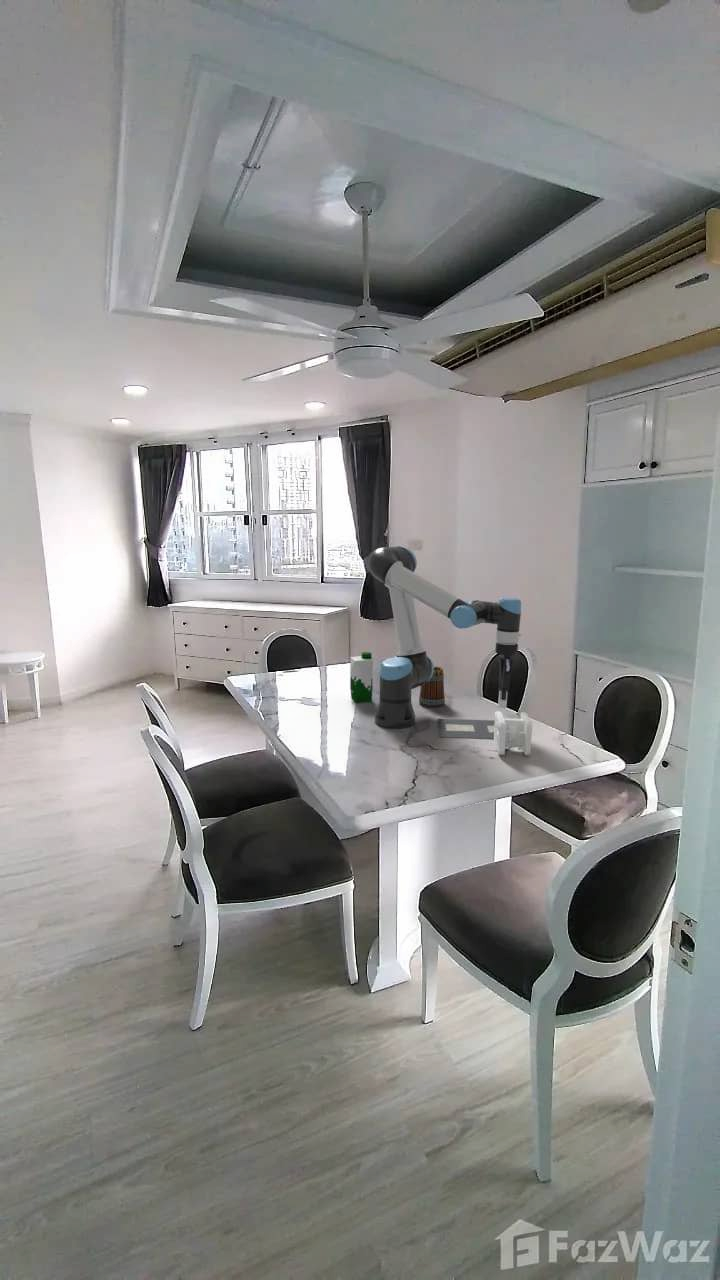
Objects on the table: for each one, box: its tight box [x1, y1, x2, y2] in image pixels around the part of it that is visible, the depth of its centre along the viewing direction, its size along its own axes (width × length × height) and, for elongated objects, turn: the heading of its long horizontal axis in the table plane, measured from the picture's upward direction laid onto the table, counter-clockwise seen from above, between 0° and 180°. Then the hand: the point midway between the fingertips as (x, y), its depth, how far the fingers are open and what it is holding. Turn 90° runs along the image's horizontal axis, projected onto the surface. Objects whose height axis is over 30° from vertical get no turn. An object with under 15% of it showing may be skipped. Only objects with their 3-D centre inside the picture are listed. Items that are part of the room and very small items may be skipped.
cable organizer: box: [493, 710, 533, 757], centre depth 196 cm, size 15×11×12 cm
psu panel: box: [437, 718, 495, 740], centre depth 217 cm, size 30×20×1 cm, turn 85°
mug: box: [418, 666, 446, 709], centre depth 249 cm, size 16×11×15 cm
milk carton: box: [349, 651, 374, 704], centre depth 251 cm, size 9×9×20 cm
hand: (502, 707), depth 214 cm, fingers closed
